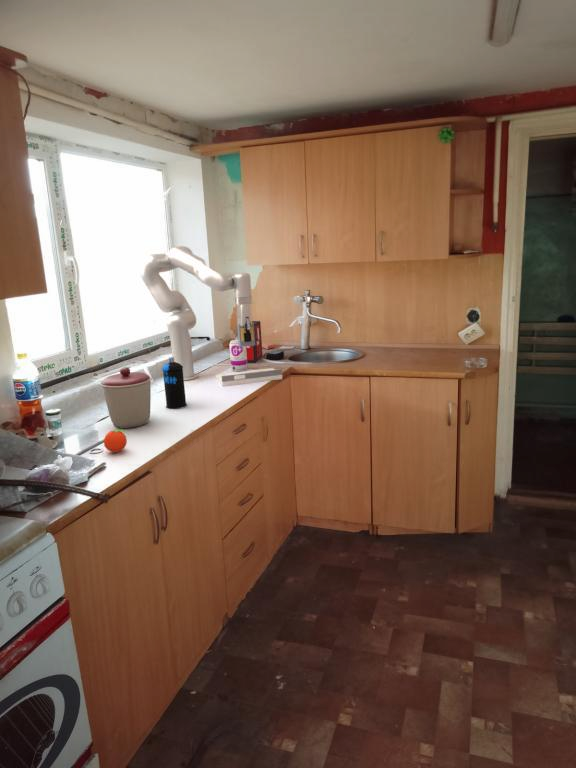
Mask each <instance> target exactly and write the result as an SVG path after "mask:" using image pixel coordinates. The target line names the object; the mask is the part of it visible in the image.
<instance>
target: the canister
mask: <svg viewBox="0 0 576 768" xmlns="http://www.w3.org/2000/svg"><path fill="white" fill-rule="evenodd" d="M152 380H153V377H152V375H148V374H147V373H144V372H140V371H139V372H134V371H133V372H132V371H131V369H130V368H129V367H122V368H120V370H119V373H117V374H116V373H115V374H112V375H108V376H107V377H105V378H103V380H101V381H100V382H99V386H100V387H102V391H103V396H104V399H105V404H106V407H107V411H108V415H109V418H110V420H111V422H112V425H114V426H115V427H117V428H120V429H121V428H122V429H130V428H131V429H132V428H137V427H140V426H143V425H144V424H145V425H146V424H147V423H148V422H149V420H150V417H151V402H152V401H151V398H152V397H151V391H152V390H151V381H152Z"/></svg>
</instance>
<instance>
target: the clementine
mask: <svg viewBox="0 0 576 768" xmlns="http://www.w3.org/2000/svg"><path fill="white" fill-rule="evenodd" d="M123 432H124V433H123ZM125 433H126V434H128V432H127V431H125V430H121V429H116V430H115V429H113V430H111V431H109V432H108V433H107V434H105V436H104V438H103V445H104V447H105V449H106V450H108V451H109V452H111V453H119V452H121V451H123V450H124V449H125V448H126V446H127V442H128V441H127V436H126V435H125Z"/></svg>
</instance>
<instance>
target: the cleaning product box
mask: <svg viewBox="0 0 576 768" xmlns="http://www.w3.org/2000/svg"><path fill="white" fill-rule="evenodd" d="M252 323H254V331H255V345H254V346H246V352H247V364H256V363H258V362H259V361H260V360H261V359H262V358H263V346H262V345H263V344H262V343H263V342H262V328H261V327H262V326H261V321H260V320H252ZM236 334H237V335H236V336H237V339H238V333H237V332H236Z"/></svg>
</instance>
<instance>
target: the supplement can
mask: <svg viewBox="0 0 576 768" xmlns="http://www.w3.org/2000/svg"><path fill="white" fill-rule="evenodd" d="M228 345H229V358H230V370H232V372H243V371H247V370H248V367H249V366H248V363H247V352H246V346H244V347H240V346H239V345H238V338H237V339H232V340H230V342H229V344H228Z"/></svg>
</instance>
